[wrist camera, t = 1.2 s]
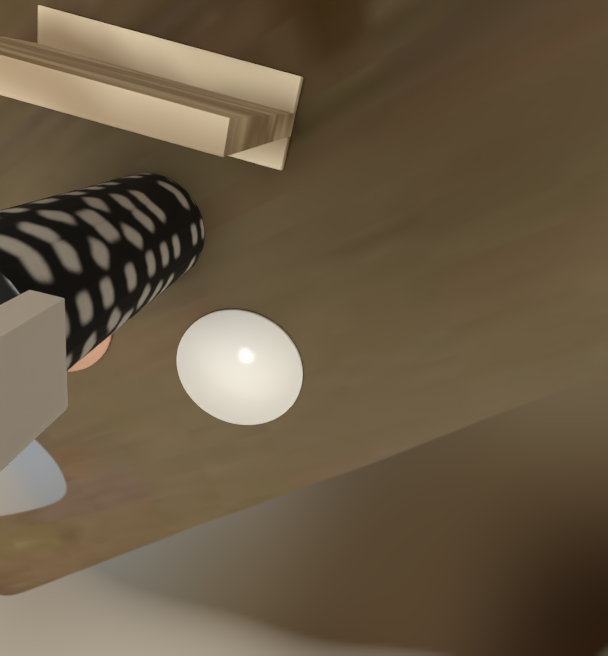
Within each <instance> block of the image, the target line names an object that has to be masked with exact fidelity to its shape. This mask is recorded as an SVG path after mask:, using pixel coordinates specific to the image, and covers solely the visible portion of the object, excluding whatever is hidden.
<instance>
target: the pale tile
mask: <svg viewBox="0 0 608 656" xmlns="http://www.w3.org/2000/svg"><path fill="white" fill-rule="evenodd" d="M177 370H178V374H179V377H180V380H181V383H182V385H183V387H184V389H185V390H186V392H187V393H188V395H189V396H190V397H191V398H192V400H193V401H194V402H195V403H196V404H197V405H198V406H199V407H201V408H202V409H203V410H204V411H206V412H207V413H209V414H211V415H212V416H214V417H216V418H218V419H221V420H223V421H226V422H230V423H234V424H241V425H255V424H261V423H266V422H268V421H271V420H274V419H275V418H277V417H279V416H281V415H282V414H284V413H285V412H286V411H287V410H288V409H289V408H290V407H291V406H292V405H293V403H294V402H295V400H296V398H297V397H298V394H299V392H300V389H301V385H302V381H303V365H302V361H301V357H300V354H299V352H298V349H297V347H296V345H295V344H294V342H293V341H292V339H291V338H290V336H289V335H288V334H287V333H286V332H285V331H284V330H283V329H282V328H281V327H280V326H279V325H277V324H276V323H275V322H273V321H272V320H270V319H268V318H266V317H264V316H262V315H260V314H257V313H255V312H251V311H247V310H241V309H224V310H218V311H215V312H211V313H209V314H207V315H204V316H203V317H201V318H200V319H198V320H197V321H196V322H194V323H193V324H192V325H191V326H190V327H189V329H188V330H187V331H186V332H185V334H184V335H183V337H182V339H181V341H180V344H179V347H178V351H177Z"/></svg>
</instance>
